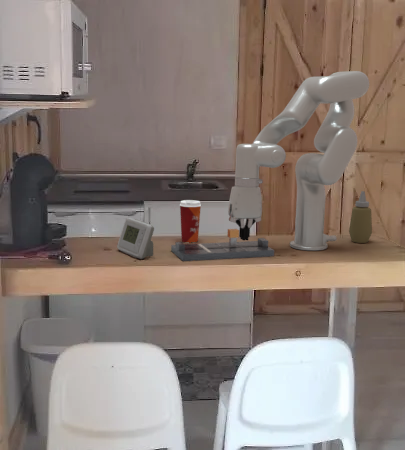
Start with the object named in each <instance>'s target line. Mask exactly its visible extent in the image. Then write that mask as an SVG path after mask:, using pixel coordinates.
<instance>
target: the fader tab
mask: <svg viewBox="0 0 405 450" xmlns="http://www.w3.org/2000/svg"><path fill="white" fill-rule="evenodd" d="M227 237H228V238H229V241H228V242H229V246H237V242H238V241H237V239H238V238H240V237H239V229H238V228H227Z"/></svg>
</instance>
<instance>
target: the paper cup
mask: <svg viewBox="0 0 405 450" xmlns="http://www.w3.org/2000/svg"><path fill="white" fill-rule="evenodd" d="M201 206H202V204H201V201H200V200H193V199H184V200H180V204H179V210H180V211H179V212H180V215H179V216H180V233H181V234H180V235H181V242H182V243H184V242H189V243H188V244H192V243H191V242H196V243H198V242H197V241H199V232H200V220H201Z"/></svg>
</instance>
